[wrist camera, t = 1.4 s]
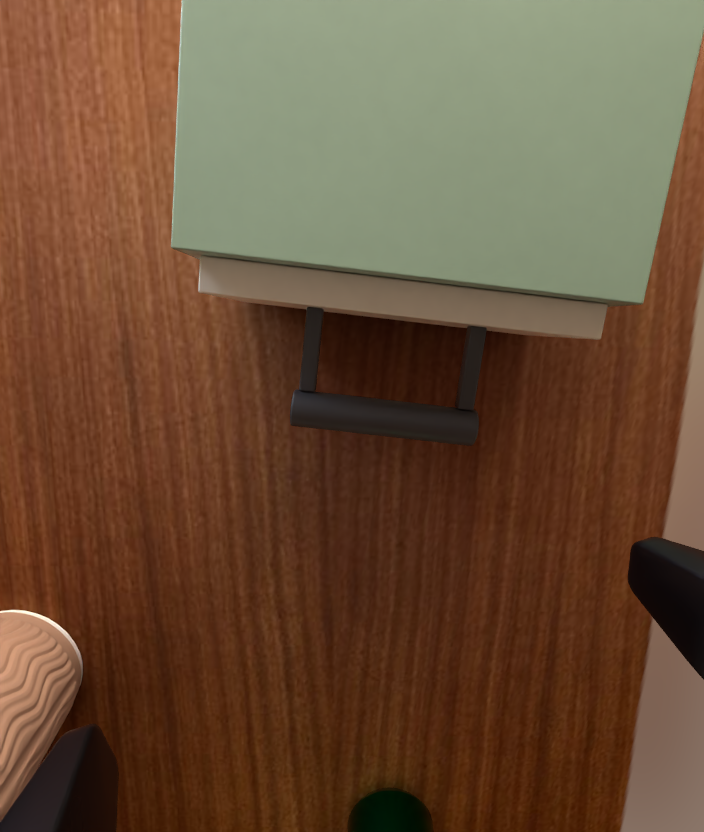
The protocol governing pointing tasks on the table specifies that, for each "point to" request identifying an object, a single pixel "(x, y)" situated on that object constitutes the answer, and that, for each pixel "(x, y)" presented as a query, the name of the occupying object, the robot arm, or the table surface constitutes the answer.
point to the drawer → (405, 304)
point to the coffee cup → (32, 694)
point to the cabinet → (435, 138)
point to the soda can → (390, 813)
